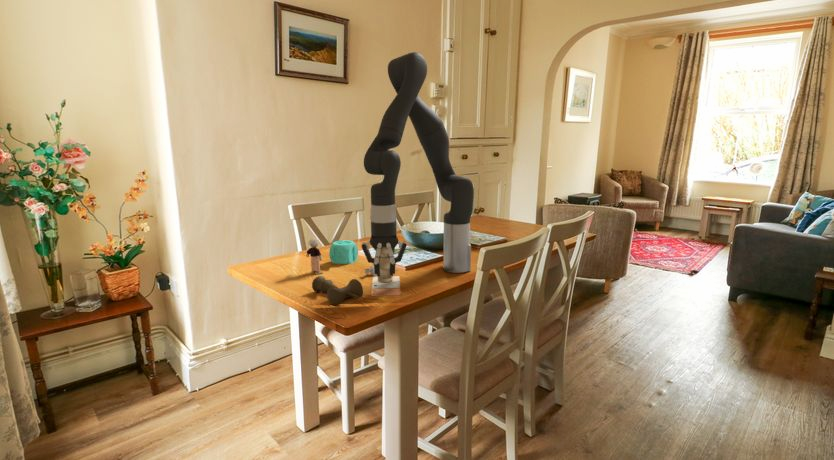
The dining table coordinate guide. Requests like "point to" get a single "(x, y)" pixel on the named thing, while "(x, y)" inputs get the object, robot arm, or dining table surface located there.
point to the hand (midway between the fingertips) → (384, 275)
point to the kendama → (337, 290)
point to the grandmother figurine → (314, 256)
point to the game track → (379, 291)
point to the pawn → (384, 266)
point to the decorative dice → (343, 252)
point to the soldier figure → (372, 270)
